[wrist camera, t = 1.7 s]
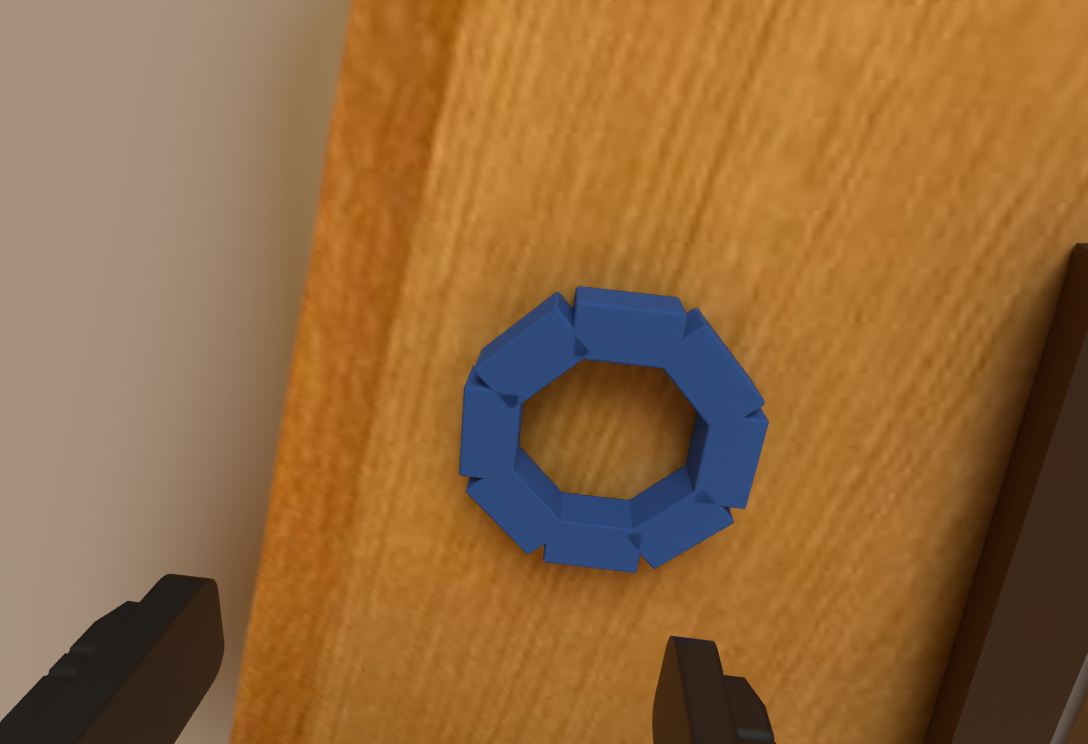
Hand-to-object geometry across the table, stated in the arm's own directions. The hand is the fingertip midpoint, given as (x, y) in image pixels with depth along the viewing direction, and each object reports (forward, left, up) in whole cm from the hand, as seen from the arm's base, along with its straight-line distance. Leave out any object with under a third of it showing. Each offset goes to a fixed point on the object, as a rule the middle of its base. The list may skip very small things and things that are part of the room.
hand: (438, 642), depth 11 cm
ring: (+1, +3, -9) cm, 10 cm away
